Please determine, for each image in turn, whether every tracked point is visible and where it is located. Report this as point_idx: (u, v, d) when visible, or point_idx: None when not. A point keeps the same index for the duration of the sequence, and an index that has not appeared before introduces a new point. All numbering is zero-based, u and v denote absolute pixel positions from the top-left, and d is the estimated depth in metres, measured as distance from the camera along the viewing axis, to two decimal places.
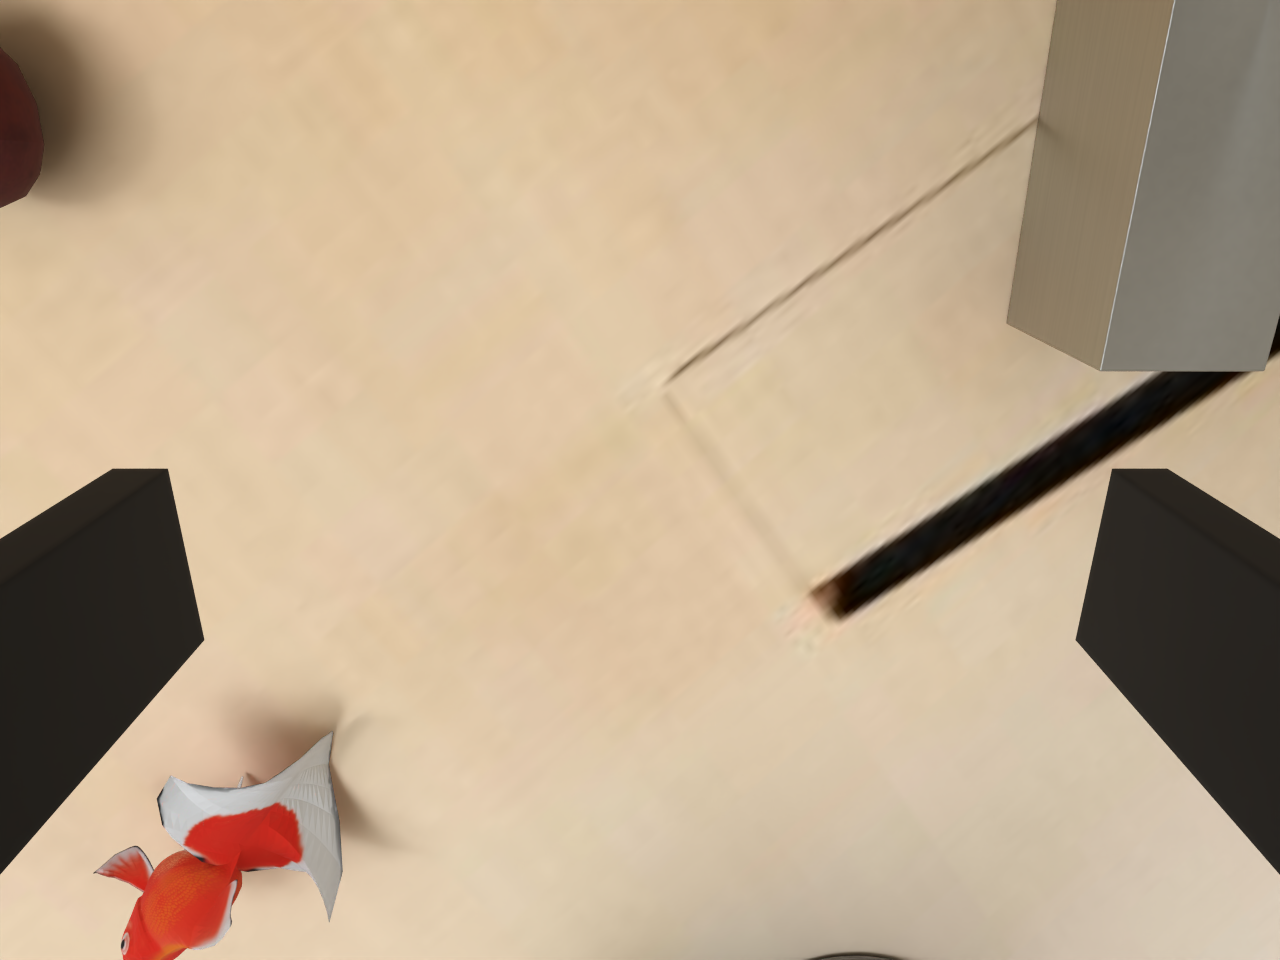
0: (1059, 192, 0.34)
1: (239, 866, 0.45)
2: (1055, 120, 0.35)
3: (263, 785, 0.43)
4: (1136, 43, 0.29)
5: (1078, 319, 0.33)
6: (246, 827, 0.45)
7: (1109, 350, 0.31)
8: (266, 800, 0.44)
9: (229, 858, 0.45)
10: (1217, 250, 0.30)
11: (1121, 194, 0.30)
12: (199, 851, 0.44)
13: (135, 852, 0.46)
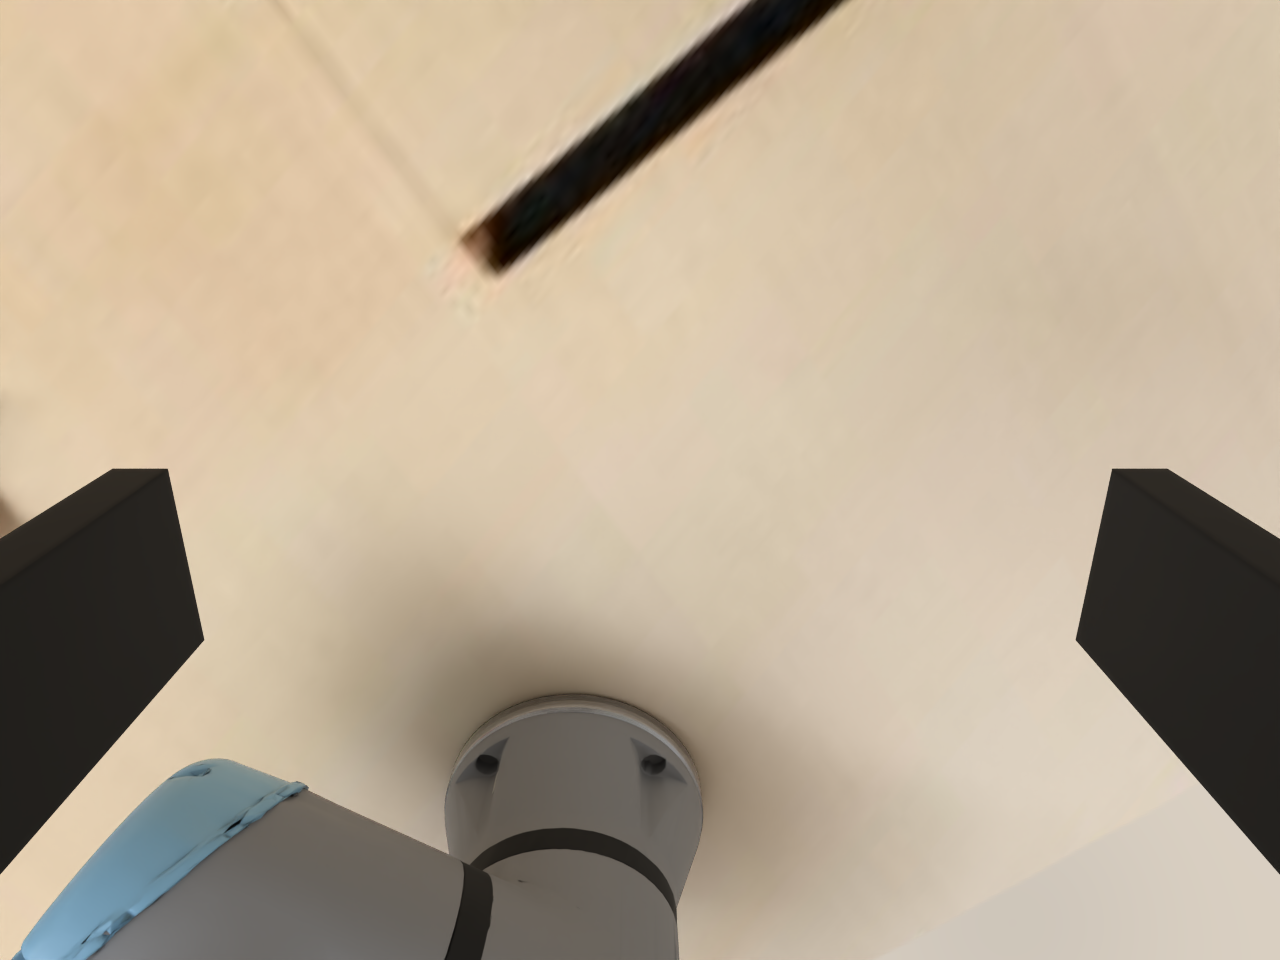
0: None
1: None
2: None
3: None
4: None
5: None
6: None
7: None
8: None
9: None
10: None
11: None
12: None
13: None
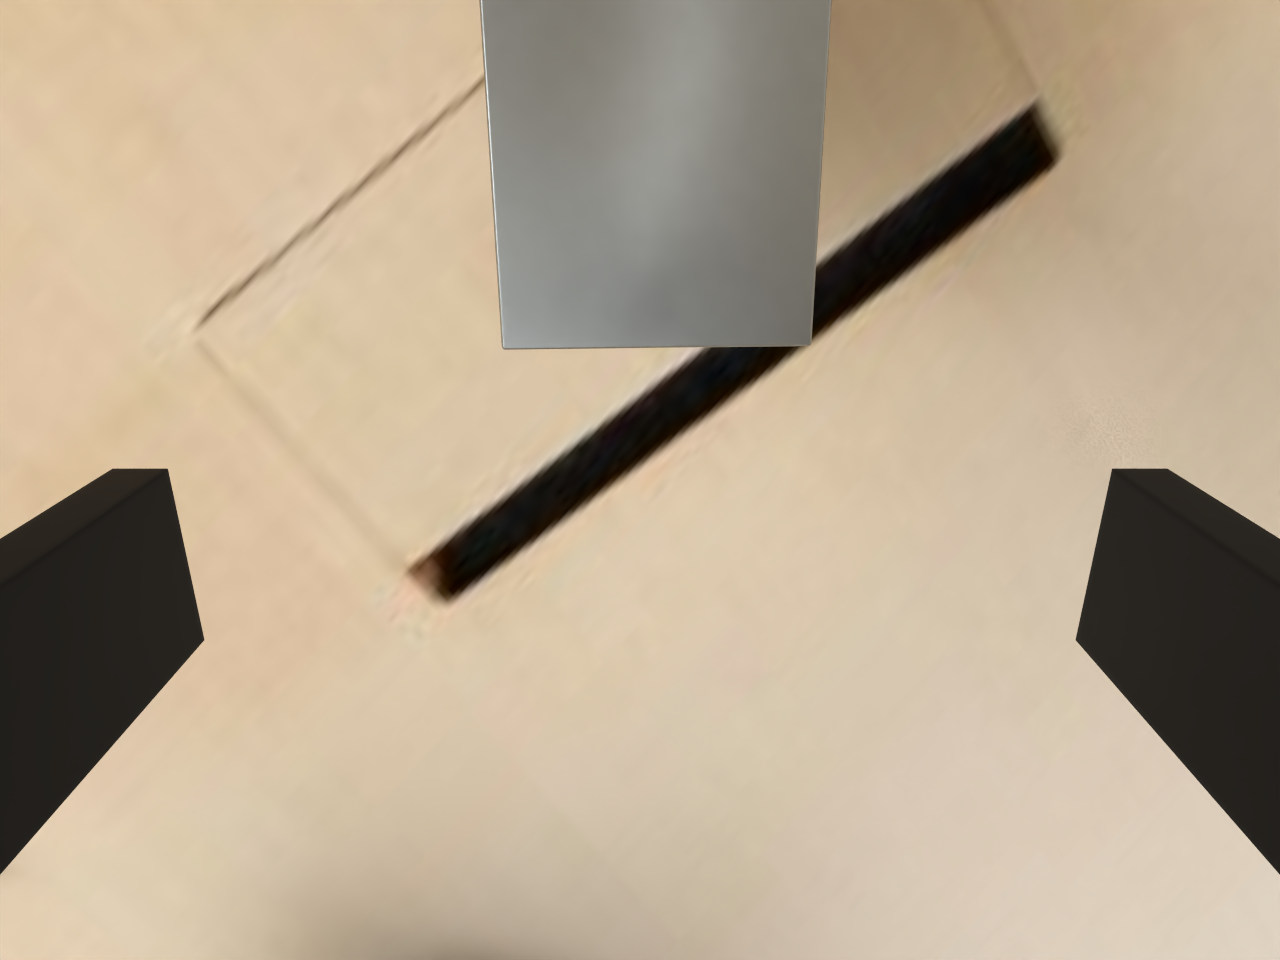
0: None
1: None
2: None
3: None
4: None
5: None
6: None
7: (508, 308, 0.16)
8: None
9: None
10: (670, 107, 0.15)
11: None
12: None
13: None
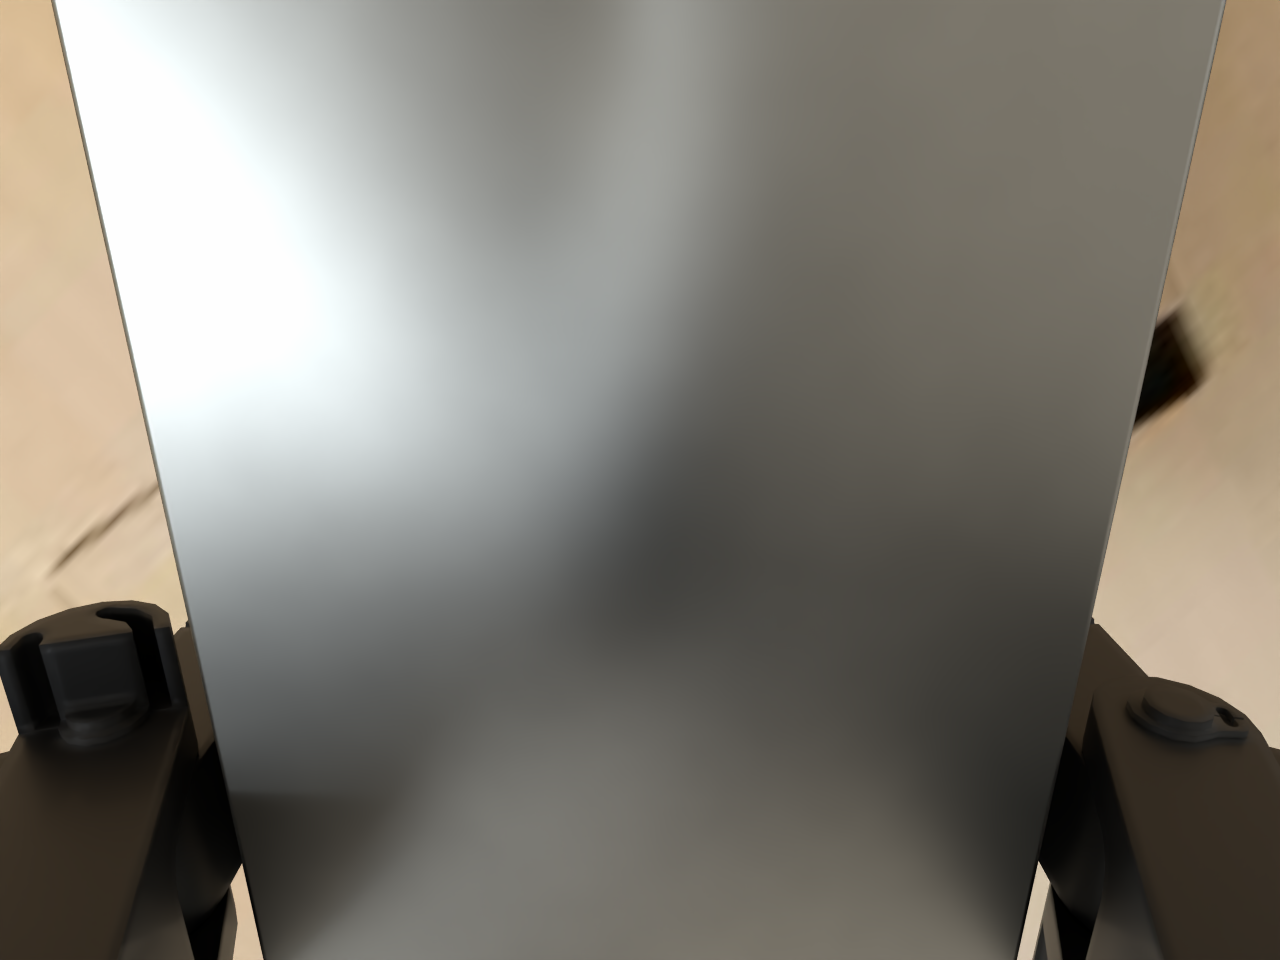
0: None
1: None
2: None
3: None
4: None
5: None
6: None
7: None
8: None
9: None
10: (671, 910, 0.07)
11: None
12: None
13: None
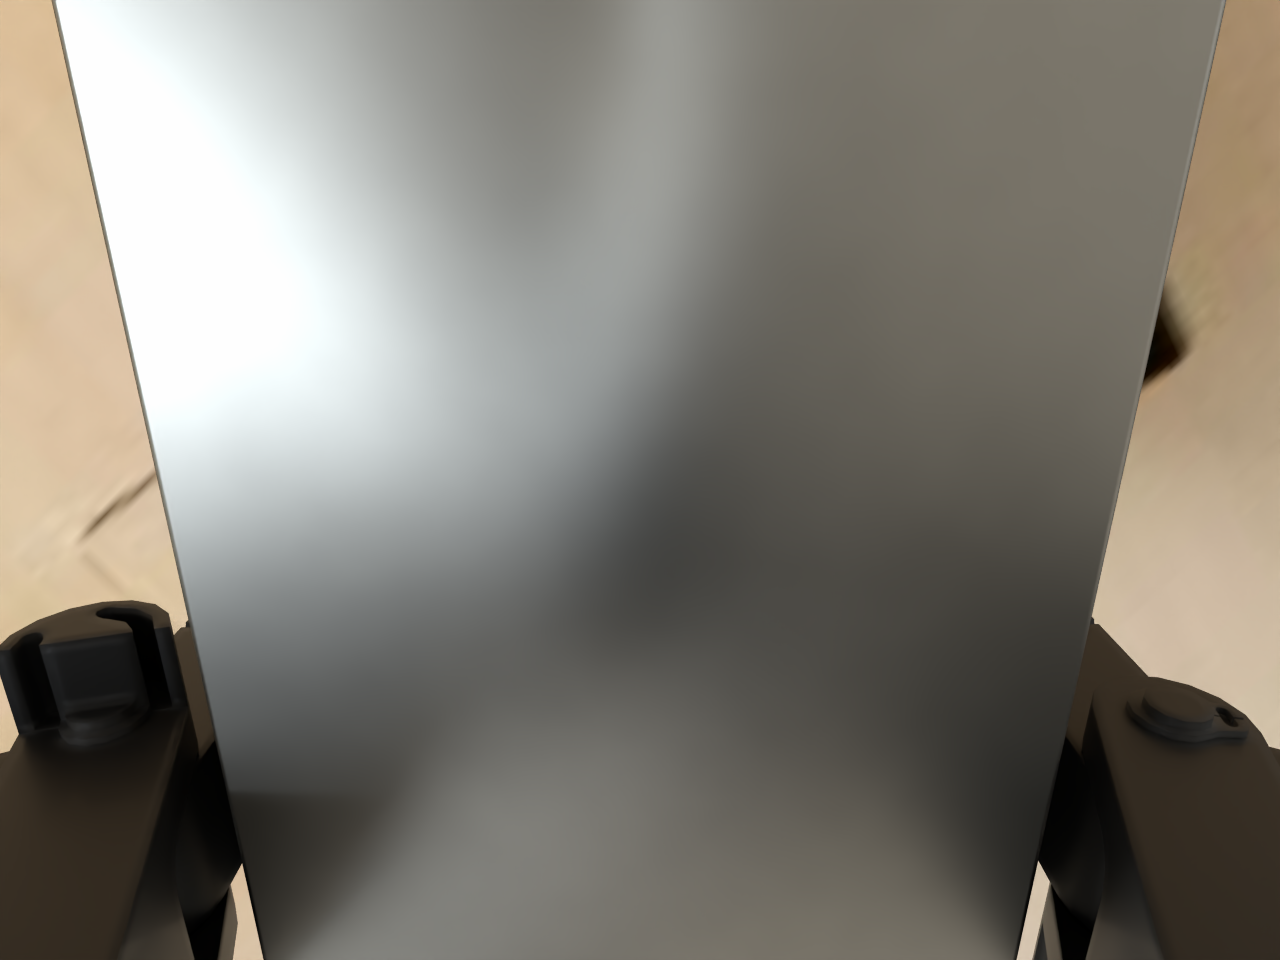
0: None
1: None
2: None
3: None
4: None
5: None
6: None
7: None
8: None
9: None
10: (671, 910, 0.07)
11: None
12: None
13: None
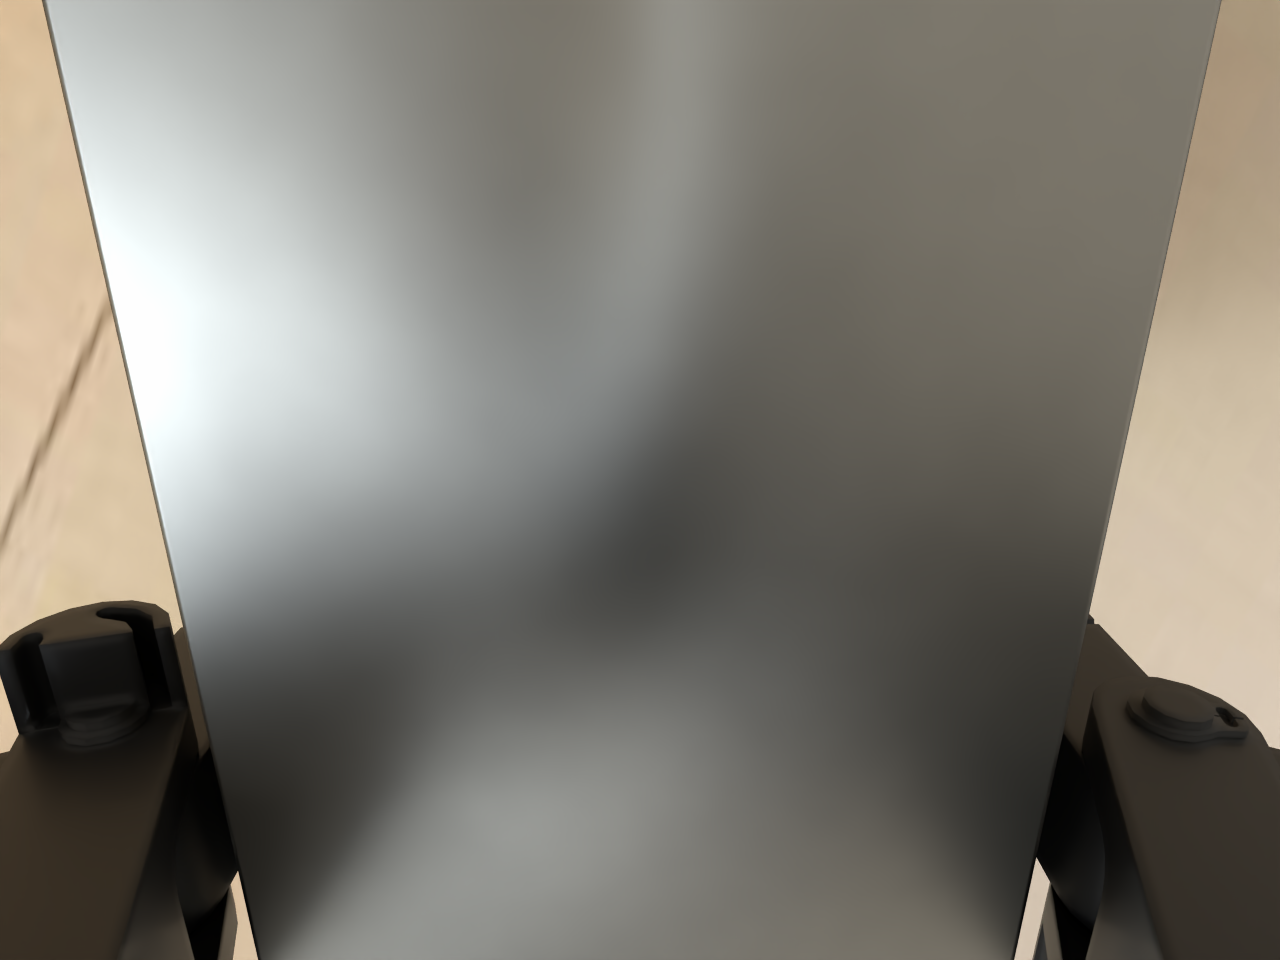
0: None
1: None
2: None
3: None
4: None
5: None
6: None
7: None
8: None
9: None
10: (668, 911, 0.07)
11: None
12: None
13: None
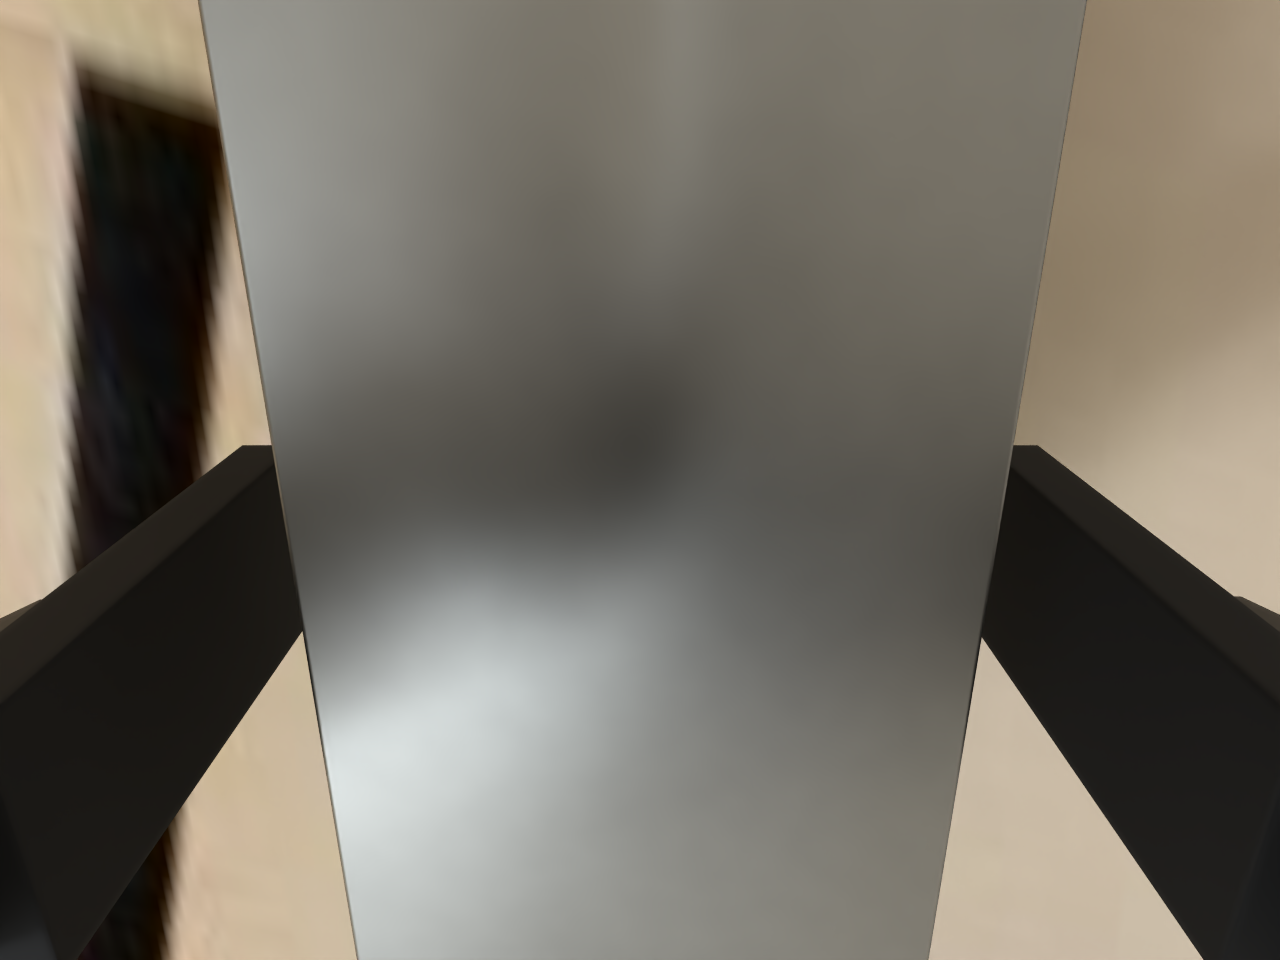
0: None
1: None
2: None
3: None
4: None
5: None
6: None
7: None
8: None
9: None
10: (667, 784, 0.08)
11: None
12: None
13: None
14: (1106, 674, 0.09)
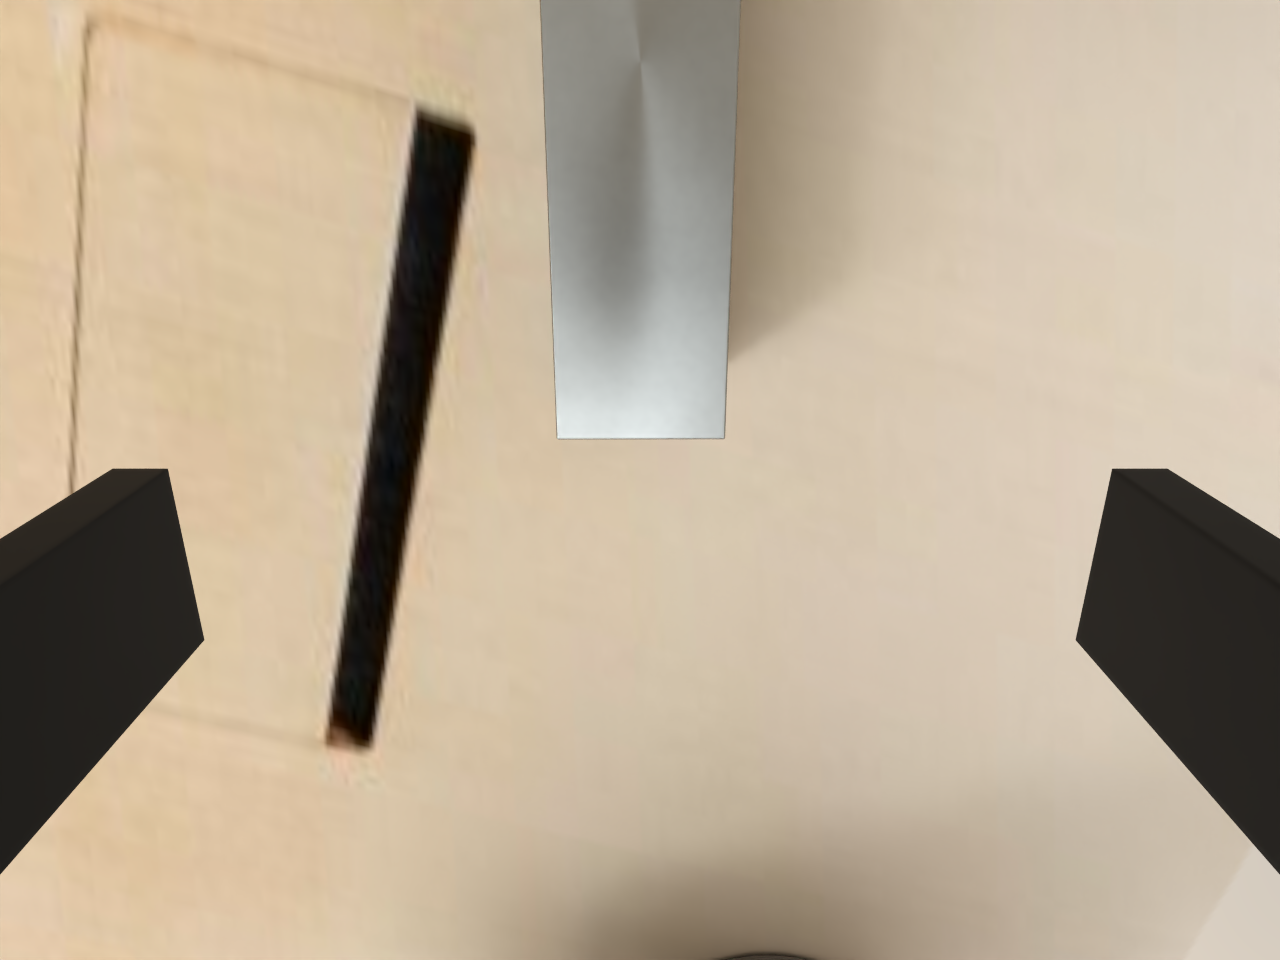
0: None
1: None
2: None
3: None
4: None
5: None
6: None
7: (561, 418, 0.30)
8: None
9: None
10: (647, 319, 0.29)
11: None
12: None
13: None
14: None
